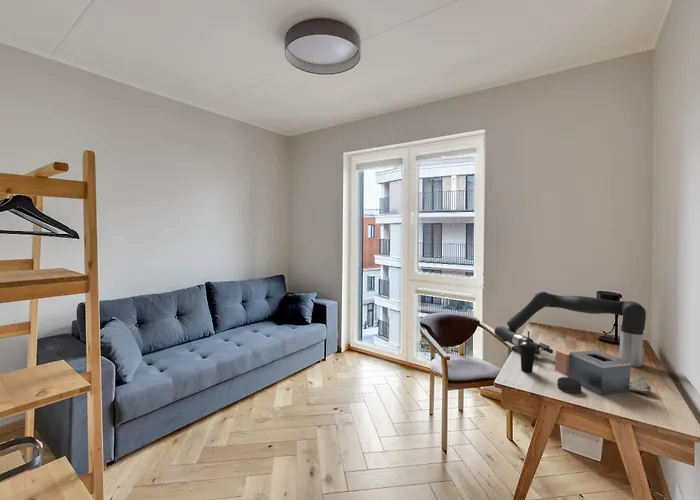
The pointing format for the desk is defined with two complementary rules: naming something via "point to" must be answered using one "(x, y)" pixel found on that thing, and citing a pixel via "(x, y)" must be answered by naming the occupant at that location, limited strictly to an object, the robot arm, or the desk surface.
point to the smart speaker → (569, 385)
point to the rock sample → (640, 386)
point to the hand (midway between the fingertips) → (545, 352)
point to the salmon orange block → (562, 361)
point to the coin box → (599, 372)
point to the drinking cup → (527, 355)
